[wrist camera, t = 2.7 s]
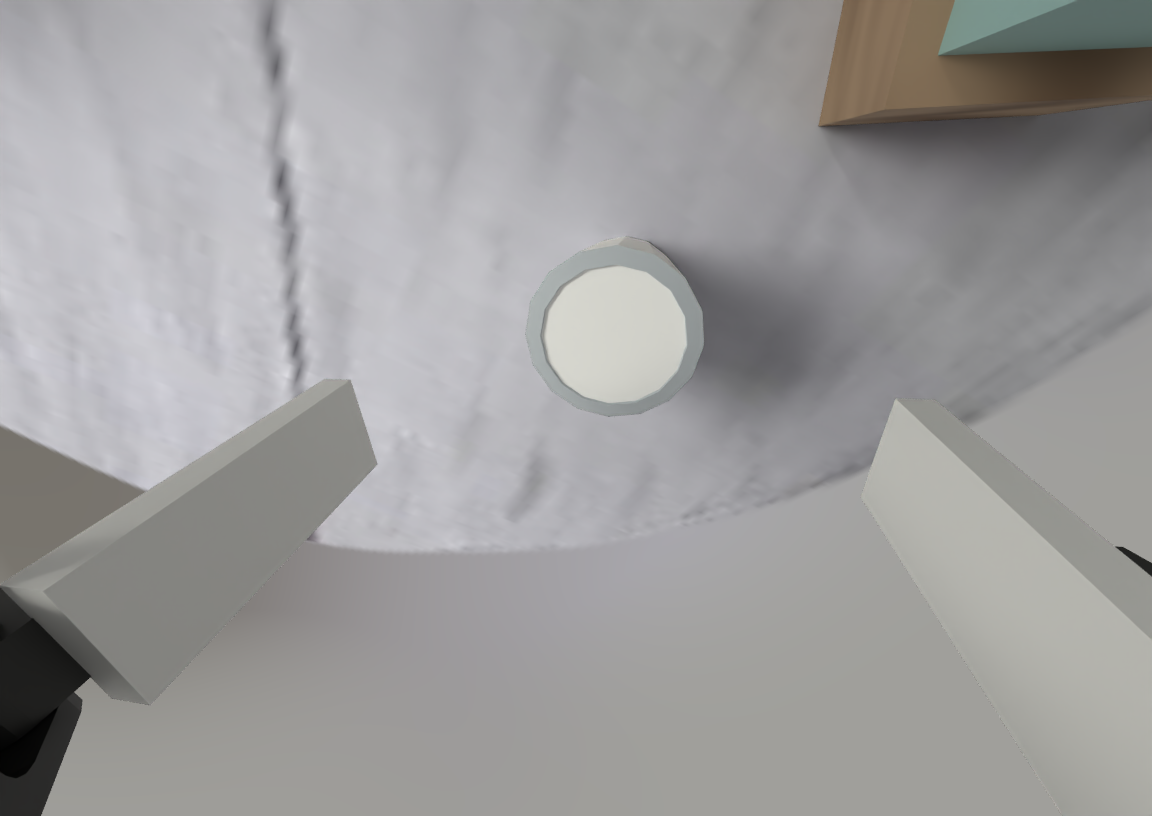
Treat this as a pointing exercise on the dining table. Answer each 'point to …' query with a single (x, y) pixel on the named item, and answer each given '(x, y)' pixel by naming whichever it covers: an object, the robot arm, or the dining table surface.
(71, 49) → the dining table surface
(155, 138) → the dining table surface
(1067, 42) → the top block
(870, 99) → the bottom block
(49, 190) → the dining table surface
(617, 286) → the shot glass
